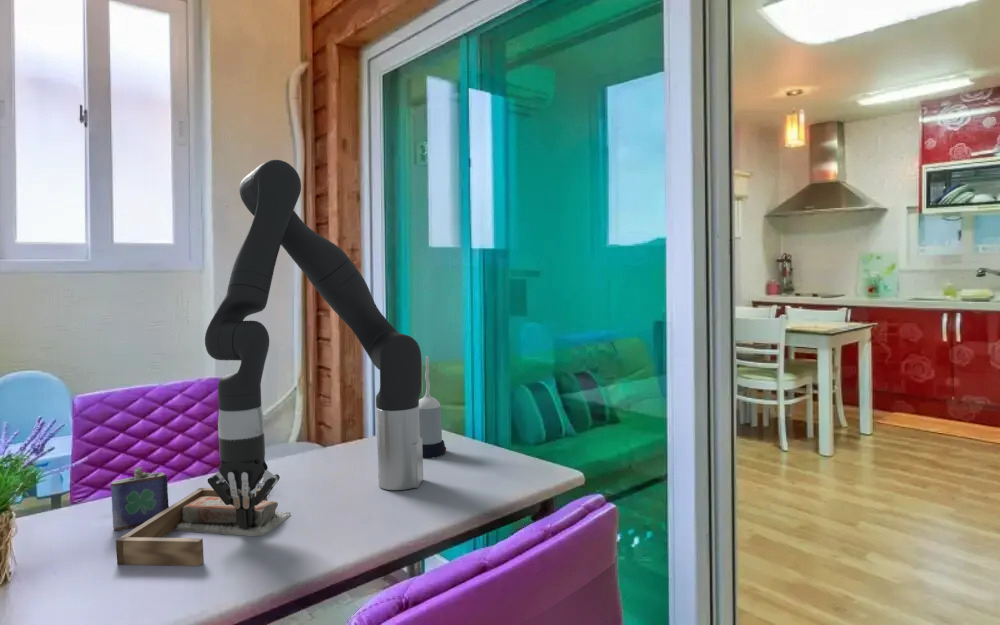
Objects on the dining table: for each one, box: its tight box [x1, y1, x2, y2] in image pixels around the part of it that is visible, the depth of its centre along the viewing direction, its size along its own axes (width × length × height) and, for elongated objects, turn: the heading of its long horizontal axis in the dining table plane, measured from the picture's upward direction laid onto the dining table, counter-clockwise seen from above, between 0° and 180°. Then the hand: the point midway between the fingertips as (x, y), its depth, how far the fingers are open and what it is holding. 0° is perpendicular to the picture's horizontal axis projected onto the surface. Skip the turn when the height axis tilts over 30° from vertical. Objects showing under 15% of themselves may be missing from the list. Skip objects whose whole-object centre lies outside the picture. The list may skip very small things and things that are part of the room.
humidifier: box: [419, 355, 447, 459], centre depth 160 cm, size 8×8×25 cm
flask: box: [110, 466, 170, 531], centre depth 118 cm, size 9×3×11 cm, turn 121°
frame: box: [115, 487, 269, 567], centre depth 113 cm, size 14×24×4 cm, turn 175°
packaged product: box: [175, 496, 292, 537], centre depth 118 cm, size 18×5×10 cm
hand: (245, 526), depth 113 cm, fingers closed
